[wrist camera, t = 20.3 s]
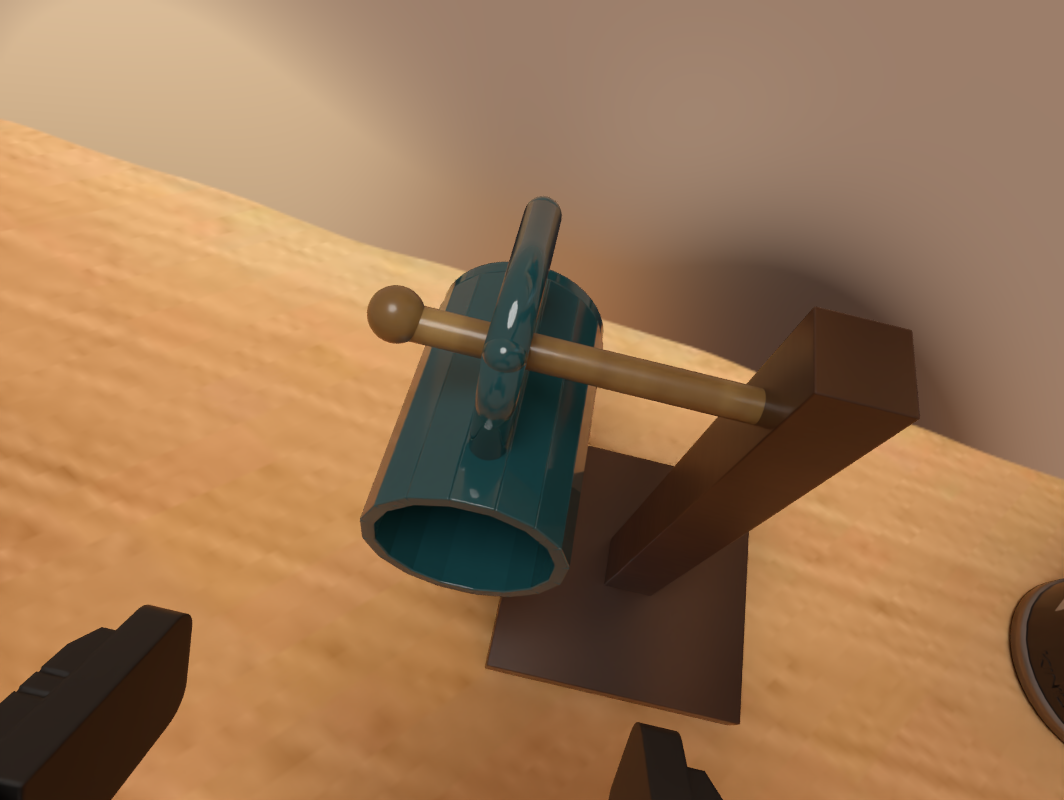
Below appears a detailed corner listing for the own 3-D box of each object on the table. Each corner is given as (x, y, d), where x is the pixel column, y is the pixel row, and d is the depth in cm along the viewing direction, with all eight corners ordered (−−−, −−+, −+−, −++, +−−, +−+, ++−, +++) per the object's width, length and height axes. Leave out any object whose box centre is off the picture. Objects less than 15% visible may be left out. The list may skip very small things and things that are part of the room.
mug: (583, 392, 29) (547, 612, 23) (439, 357, 29) (365, 569, 23) (661, 177, 20) (636, 441, 14) (455, 126, 20) (341, 370, 14)
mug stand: (740, 493, 37) (1071, 227, 18) (727, 725, 32) (1192, 707, 12) (434, 419, 37) (430, 66, 17) (366, 640, 31) (248, 483, 12)
